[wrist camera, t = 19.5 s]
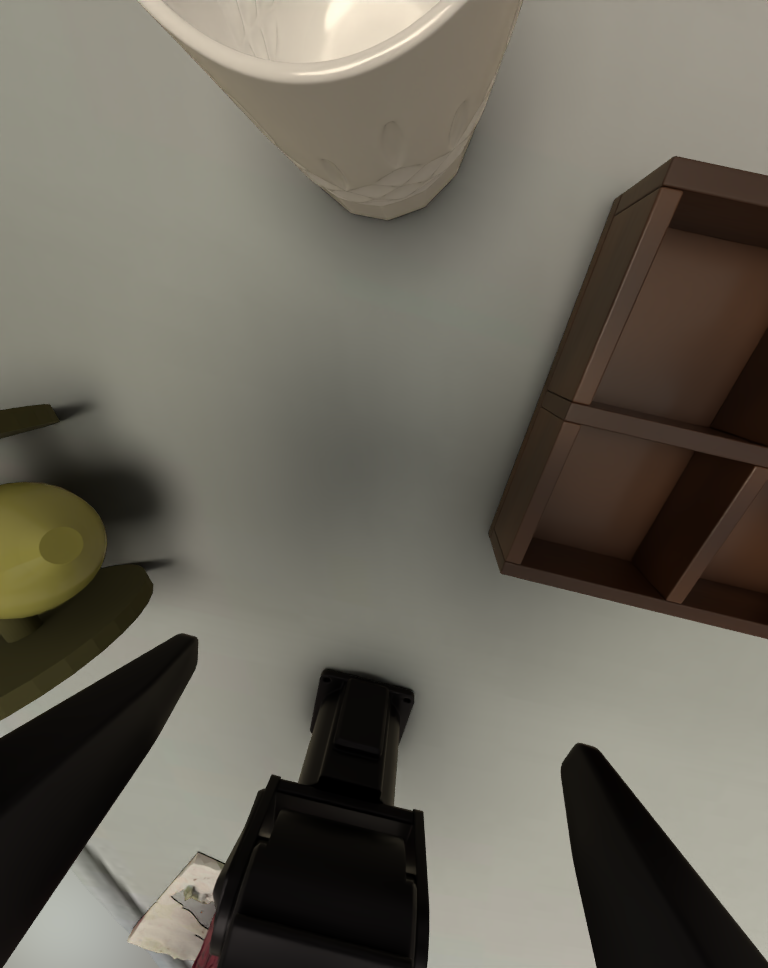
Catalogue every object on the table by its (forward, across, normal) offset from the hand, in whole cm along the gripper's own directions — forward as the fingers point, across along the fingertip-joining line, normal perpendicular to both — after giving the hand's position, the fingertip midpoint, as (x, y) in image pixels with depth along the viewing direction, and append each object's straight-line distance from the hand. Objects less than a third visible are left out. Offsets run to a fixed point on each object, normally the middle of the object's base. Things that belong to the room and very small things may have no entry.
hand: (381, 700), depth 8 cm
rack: (+12, -12, -7) cm, 18 cm away
